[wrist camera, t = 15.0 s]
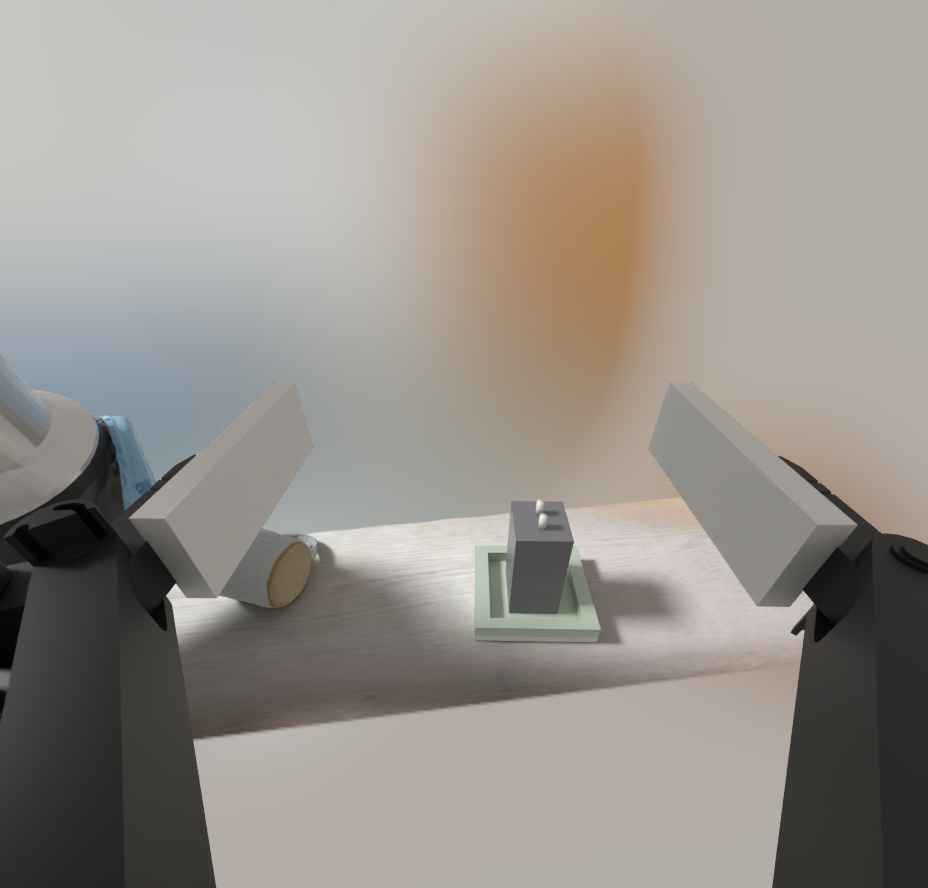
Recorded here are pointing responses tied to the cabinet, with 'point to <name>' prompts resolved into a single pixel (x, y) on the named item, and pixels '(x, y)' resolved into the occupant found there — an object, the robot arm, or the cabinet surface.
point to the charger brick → (537, 556)
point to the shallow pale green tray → (500, 625)
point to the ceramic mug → (272, 569)
